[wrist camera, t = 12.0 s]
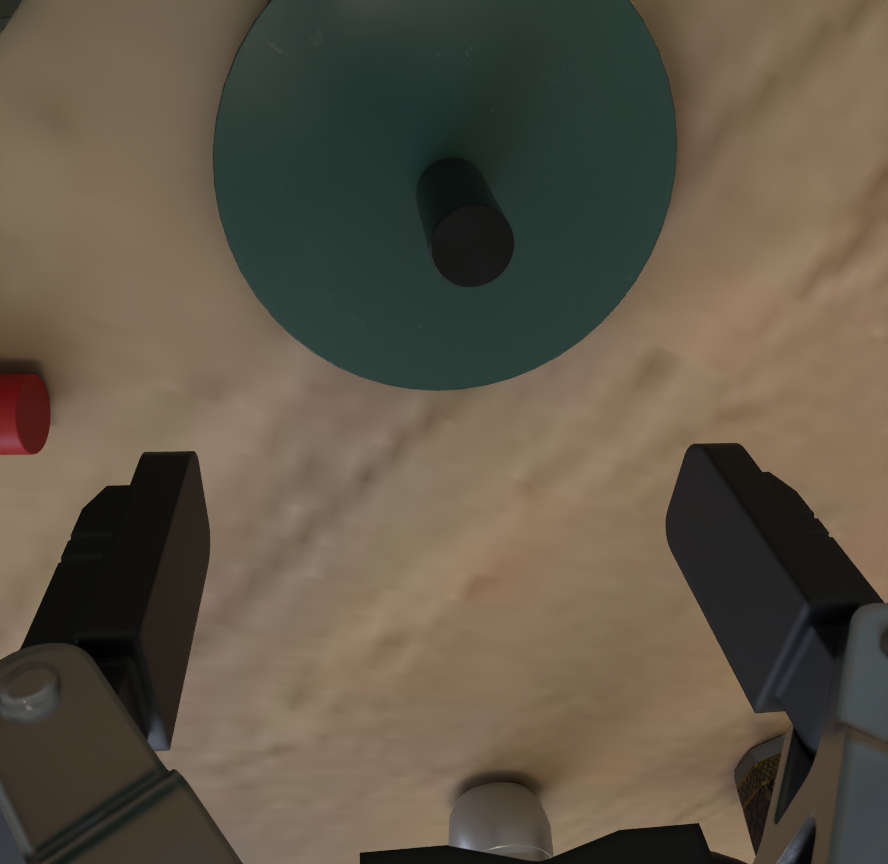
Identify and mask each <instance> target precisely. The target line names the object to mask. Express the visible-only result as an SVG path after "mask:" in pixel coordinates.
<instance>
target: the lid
mask: <svg viewBox="0 0 888 864" xmlns="http://www.w3.org/2000/svg"><path fill="white" fill-rule="evenodd" d="M676 149H677V136H676V122H675V110H674V105H673V100H672V95H671V90H670V85H669V80H668V77H667V74H666V71H665V68H664V65H663V62H662V60H661V57H660V54H659V51H658V48H657V46H656V44H655V42H654V40H653V39H652V37H651V35H650V33H649V31H648V29H647V27H646V25H645V23H644V21H643V19H642V18H641V16H640V15H639V14H638V12H637V11H636V9H635V8H634V6H633V5H632V4H631V2H630V1H629V0H270V1H269V2H268V4H267V5H266V6H265V8H264V9H263V10H262V12H261V13H260V14H259V16H258V17H257V18H256V19H255V21H254V22H253V24H252V26H251V28H250V29H249V31H248V33H247V35H246V37H245V38H244V40H243V42H242V44H241V46H240V47H239V49H238V51H237V53H236V55H235V58H234V61H233V63H232V66H231V68H230V71H229V74H228V76H227V79H226V81H225V84H224V87H223V91H222V96H221V100H220V104H219V109H218V113H217V117H216V125H215V136H214V146H213V166H214V186H215V192H216V198H217V204H218V209H219V215H220V219H221V222H222V225H223V228H224V232H225V235H226V238H227V241H228V245H229V247H230V249H231V251H232V253H233V256H234V258H235V260H236V262H237V264H238V267H239V269H240V271H241V273H242V274H243V276H244V278H245V279H246V281H247V283H248V284H249V286H250V287H251V289H252V291H253V292H254V294H255V295H256V297H257V298H258V299H259V301H260V302H261V303H262V304H263V306H264V307H265V308H266V309H267V311H268V312H269V313H270V314H271V316H272V317H273V318H274V319H275V320H276V321H277V322H278V323H279V324H280V325H281V326H282V327H283V328H284V329H285V330H286V331H287V332H288V333H289V334H290V335H292V336H293V337H294V338H295V339H296V340H298V341H299V342H300V343H302V344H303V345H304V346H306V347H307V348H308V349H309V350H311V351H312V352H313V353H315V354H316V355H318V356H320V357H322V358H323V359H325V360H327V361H328V362H330V363H332V364H334V365H335V366H337V367H339V368H341V369H344V370H346V371H348V372H351V373H353V374H355V375H358V376H360V377H363V378H366V379H369V380H373V381H376V382H379V383H383V384H386V385H391V386H397V387H403V388H408V389H419V390H436V391H438V390H457V389H466V388H472V387H478V386H484V385H489V384H493V383H496V382H500V381H503V380H507V379H510V378H513V377H516V376H518V375H521V374H523V373H525V372H528V371H530V370H533V369H535V368H537V367H539V366H541V365H543V364H545V363H547V362H548V361H550V360H552V359H554V358H556V357H558V356H559V355H561V354H562V353H564V352H565V351H567V350H568V349H569V348H571V347H572V346H574V345H575V344H577V343H578V342H580V341H581V340H582V339H583V338H584V337H585V336H587V335H588V334H589V333H590V332H591V331H592V330H594V329H595V328H596V327H597V326H598V325H599V324H600V323H601V322H602V321H603V320H604V319H605V318H606V317H607V316H608V315H609V314H610V313H611V312H612V311H613V309H614V308H615V307H616V306H617V305H618V304H619V303H620V301H621V300H622V299H623V297H624V296H625V295H626V293H627V292H628V291H629V289H630V288H631V287H632V285H633V284H634V283H635V281H636V280H637V278H638V276H639V274H640V273H641V271H642V269H643V267H644V266H645V264H646V262H647V261H648V259H649V257H650V255H651V253H652V250H653V248H654V246H655V244H656V241H657V239H658V237H659V234H660V232H661V229H662V226H663V223H664V220H665V216H666V213H667V210H668V207H669V203H670V198H671V193H672V187H673V182H674V176H675V166H676Z"/></svg>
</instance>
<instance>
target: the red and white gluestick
mask: <svg viewBox="0 0 888 864" xmlns="http://www.w3.org/2000/svg"><path fill="white" fill-rule="evenodd" d="M49 427H50V403H49V397H48V393H47V390H46V387H45V385H44V383H43V381H42V380H41V378H40V377H39V376H37V375H35V374H31V373H0V455H32V454H36V453H38V452H39V451H41V449H42V448H43V447H44V445H45V443H46V440H47V437H48V433H49Z"/></svg>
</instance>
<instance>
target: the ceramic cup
mask: <svg viewBox="0 0 888 864" xmlns="http://www.w3.org/2000/svg"><path fill="white" fill-rule="evenodd" d="M785 736H786V735H782V736H780V737H777V738H775V739H773V740H771V741H768V742H766V743H764V744H761V745H759V746H757V747H755V748H752V749H750V750H749V752H748V753H747V754H746V756H745V757H744V759H743V760H742V761H741V763H740V764H739V766H738V767H737V768H736V770H735V774H734V779H735V782H736V786H737V791H738V794H739V798H740V801H741V805H742V808H743V812H744V816H745V819H746V823H747V827H748V831H749V834H750V838H751V842H752V845H753V849H754V852H755V855H757V852H758V849H759V846H760V843H761V840H762V836H763V833H764V828H765V824H766V819H767V815H768V810H769V806H770V802H771V797H772V793H773V788H774V784H775V779H776V775H777V771H778V766H779V762H780V757H781V753H782V748H783V744H784V739H785Z"/></svg>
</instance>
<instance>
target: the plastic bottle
mask: <svg viewBox="0 0 888 864" xmlns="http://www.w3.org/2000/svg"><path fill="white" fill-rule="evenodd" d="M449 845H450V846H454V847H459V848H465V849H470V850H475V851H481V852H486V853H491V854H497V855H502V856H507V857H513V858H518V859H524V860H529V861H543V860H547V859H550V858H552V857H553V845H552V836H551V827H550V823H549V821H548V818H547V816H546V813H545V811H544V808H543V806H542V804H541V802H540V800H539V799H538V798H537V797H536V796H535V795H534V794H533V793H532V792H531V791H530V790H529V789H528V788H526V787H524V786H522V785H519V784H515V783H510V782H494V783H488V784H484V785H480V786H477V787H475V788H472V789H470V790H469V791H467V792H465V793H464V794H463V795H461V796H460V798H459V799H458V800H457V802H456V804H455V806H454V808H453V810H452V812H451V814H450V820H449Z"/></svg>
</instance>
